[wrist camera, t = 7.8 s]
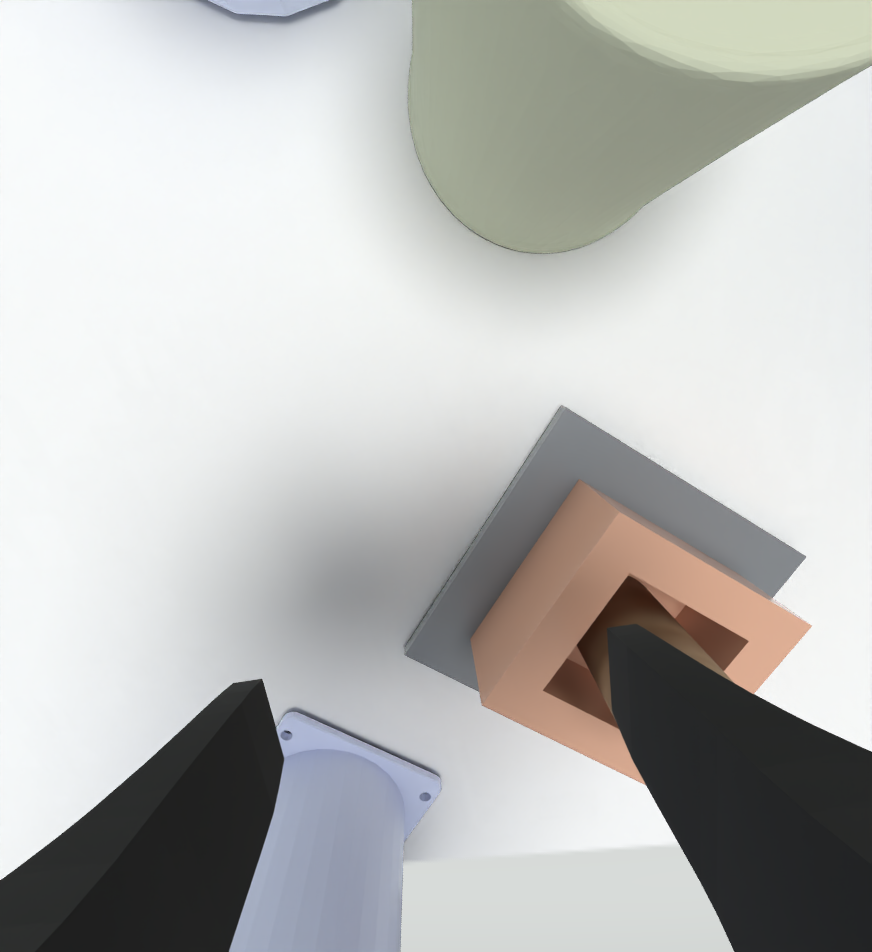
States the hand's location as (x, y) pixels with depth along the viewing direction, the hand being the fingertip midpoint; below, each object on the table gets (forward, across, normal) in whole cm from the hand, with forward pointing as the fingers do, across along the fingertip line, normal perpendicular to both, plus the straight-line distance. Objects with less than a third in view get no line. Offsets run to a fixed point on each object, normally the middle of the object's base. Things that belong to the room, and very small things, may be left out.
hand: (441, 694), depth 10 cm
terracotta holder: (+10, -6, +4) cm, 13 cm away
